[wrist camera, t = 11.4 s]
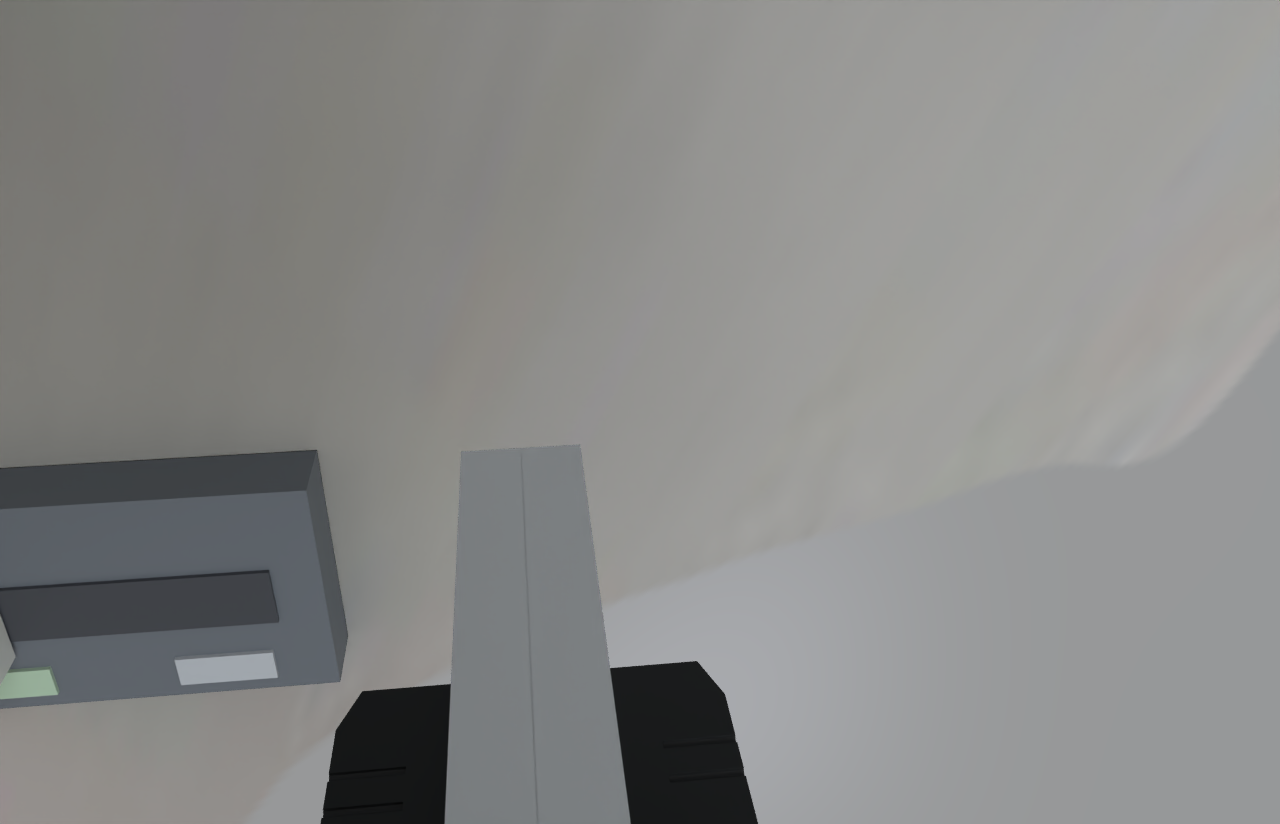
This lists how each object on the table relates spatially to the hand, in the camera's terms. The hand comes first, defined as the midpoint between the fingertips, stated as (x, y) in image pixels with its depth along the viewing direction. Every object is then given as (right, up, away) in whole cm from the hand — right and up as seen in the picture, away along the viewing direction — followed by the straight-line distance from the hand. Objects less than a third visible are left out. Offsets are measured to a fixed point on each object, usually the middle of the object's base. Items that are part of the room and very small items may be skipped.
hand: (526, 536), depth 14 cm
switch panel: (-21, -5, +33) cm, 39 cm away
